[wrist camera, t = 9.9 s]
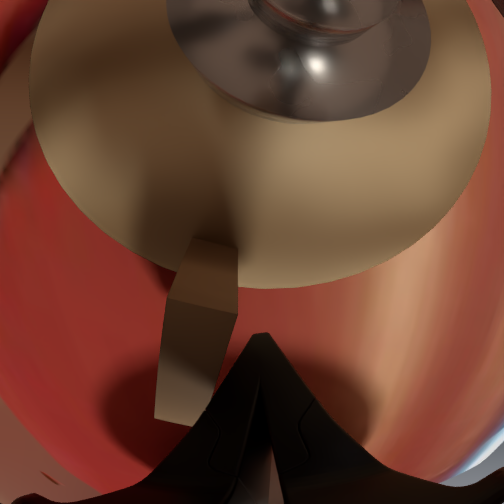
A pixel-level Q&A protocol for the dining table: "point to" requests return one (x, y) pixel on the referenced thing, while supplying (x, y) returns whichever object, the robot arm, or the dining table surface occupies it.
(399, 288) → the dining table surface
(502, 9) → the dial gauge
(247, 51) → the cover
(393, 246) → the tan piece
